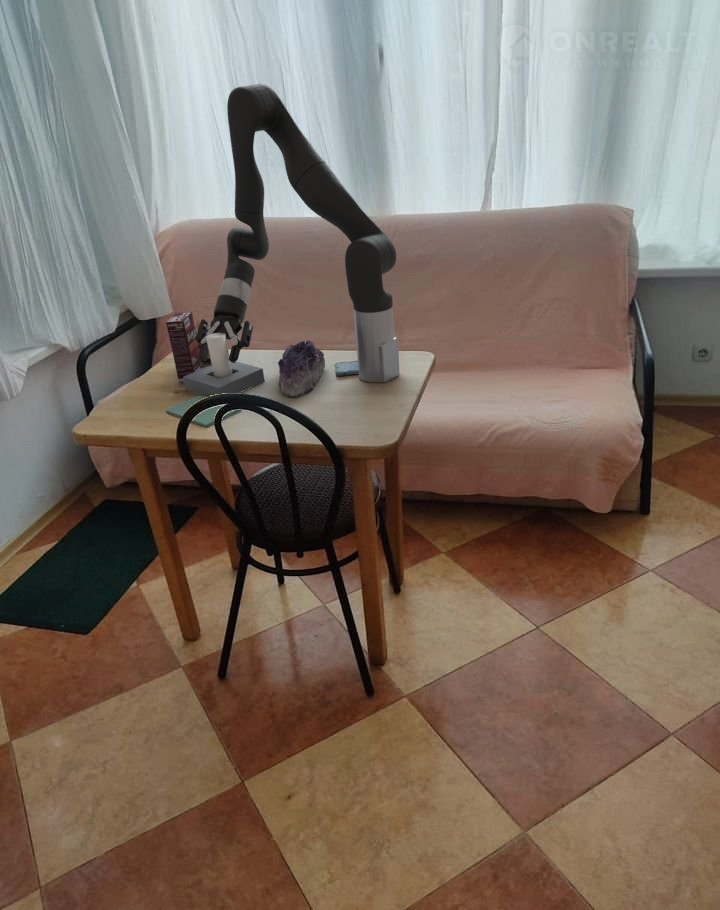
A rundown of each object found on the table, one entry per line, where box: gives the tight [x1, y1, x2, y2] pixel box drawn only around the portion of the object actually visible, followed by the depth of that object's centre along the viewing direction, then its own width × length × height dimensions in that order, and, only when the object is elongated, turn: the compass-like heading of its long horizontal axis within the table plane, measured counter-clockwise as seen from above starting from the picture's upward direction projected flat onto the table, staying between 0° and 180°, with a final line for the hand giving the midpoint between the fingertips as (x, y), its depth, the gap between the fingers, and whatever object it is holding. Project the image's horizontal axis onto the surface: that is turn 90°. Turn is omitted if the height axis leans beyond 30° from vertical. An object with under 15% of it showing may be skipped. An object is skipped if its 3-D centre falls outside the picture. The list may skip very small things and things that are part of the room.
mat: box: [165, 394, 242, 428], centre depth 145 cm, size 15×10×1 cm, turn 50°
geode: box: [277, 340, 326, 400], centre depth 154 cm, size 20×12×10 cm, turn 175°
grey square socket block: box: [183, 361, 266, 397], centre depth 158 cm, size 14×14×4 cm
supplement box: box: [165, 311, 204, 383], centre depth 163 cm, size 9×5×16 cm, turn 179°
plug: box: [206, 333, 233, 379], centre depth 155 cm, size 5×5×13 cm
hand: (217, 360), depth 154 cm, fingers open, 8 cm apart
